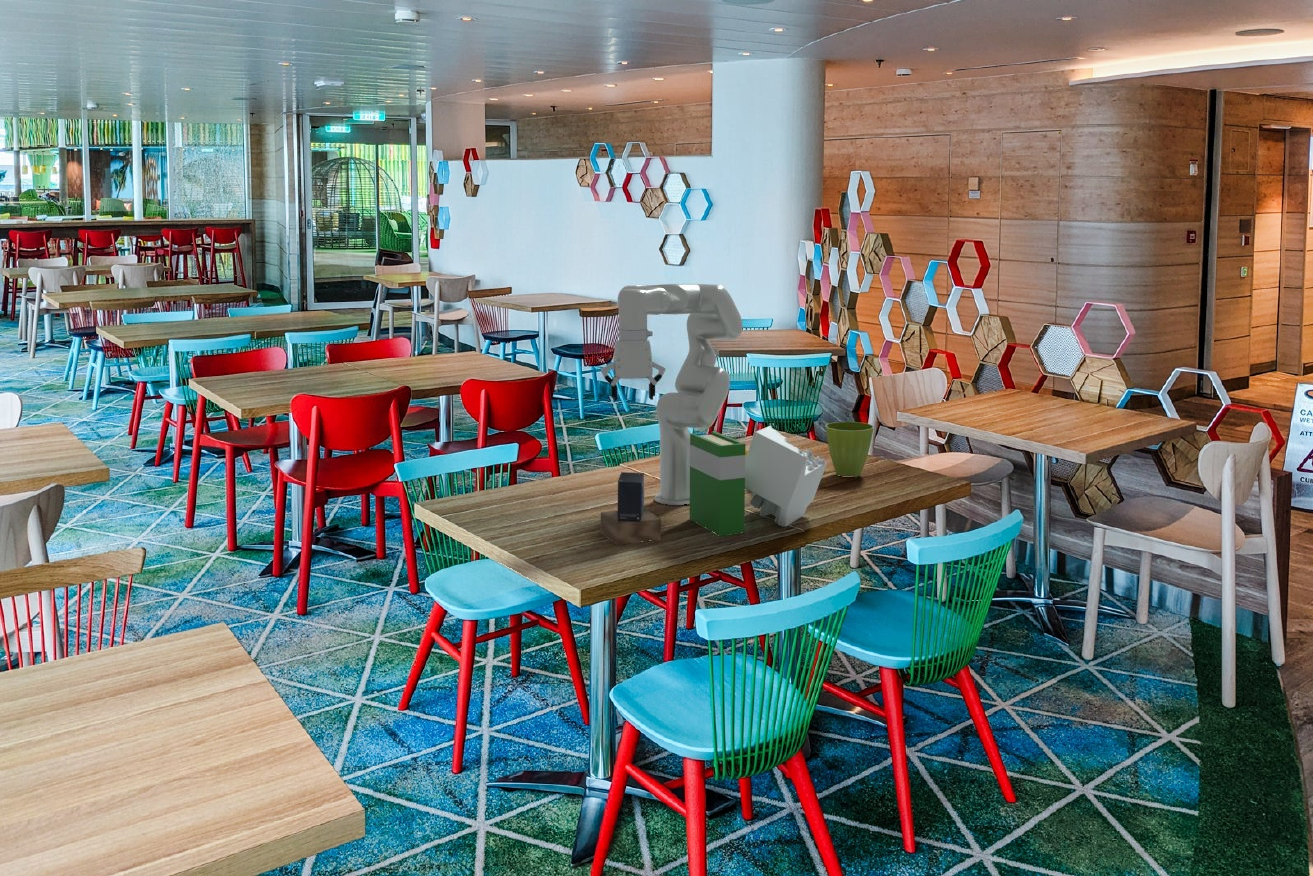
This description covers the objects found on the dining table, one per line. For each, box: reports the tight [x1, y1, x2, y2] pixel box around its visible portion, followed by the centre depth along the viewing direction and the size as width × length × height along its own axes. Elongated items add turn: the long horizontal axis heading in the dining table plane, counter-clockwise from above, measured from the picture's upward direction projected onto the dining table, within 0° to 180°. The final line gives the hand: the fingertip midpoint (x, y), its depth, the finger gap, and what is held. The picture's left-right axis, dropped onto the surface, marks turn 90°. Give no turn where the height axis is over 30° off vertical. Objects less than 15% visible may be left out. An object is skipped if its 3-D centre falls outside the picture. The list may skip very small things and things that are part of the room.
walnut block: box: [600, 508, 662, 546], centre depth 300 cm, size 12×12×6 cm
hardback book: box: [689, 430, 747, 537], centre depth 308 cm, size 18×7×24 cm, turn 24°
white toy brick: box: [745, 425, 828, 528], centre depth 314 cm, size 20×16×25 cm
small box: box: [617, 471, 645, 521], centre depth 299 cm, size 11×6×10 cm, turn 177°
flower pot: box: [825, 421, 874, 477], centre depth 365 cm, size 15×15×16 cm
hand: (633, 399), depth 310 cm, fingers open, 9 cm apart
